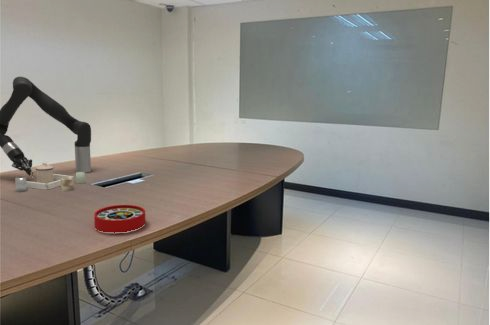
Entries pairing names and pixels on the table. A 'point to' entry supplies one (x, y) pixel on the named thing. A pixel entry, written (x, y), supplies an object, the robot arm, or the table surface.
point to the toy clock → (119, 218)
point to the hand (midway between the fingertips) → (31, 174)
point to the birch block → (66, 184)
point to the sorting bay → (49, 185)
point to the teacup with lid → (44, 173)
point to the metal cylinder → (21, 184)
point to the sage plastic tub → (80, 177)
